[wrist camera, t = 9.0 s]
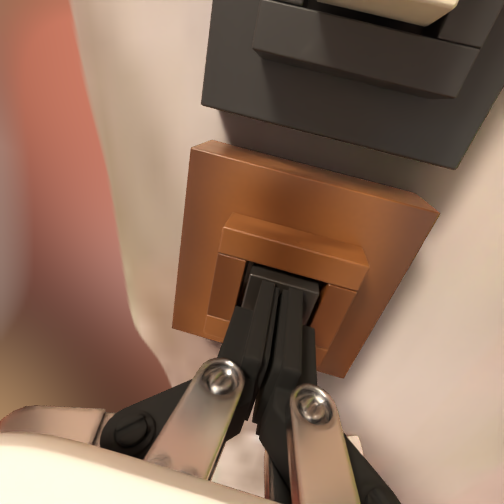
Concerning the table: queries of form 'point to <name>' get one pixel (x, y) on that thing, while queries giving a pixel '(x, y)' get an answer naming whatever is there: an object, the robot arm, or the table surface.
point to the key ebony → (281, 287)
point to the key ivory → (400, 9)
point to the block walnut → (293, 243)
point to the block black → (359, 73)
